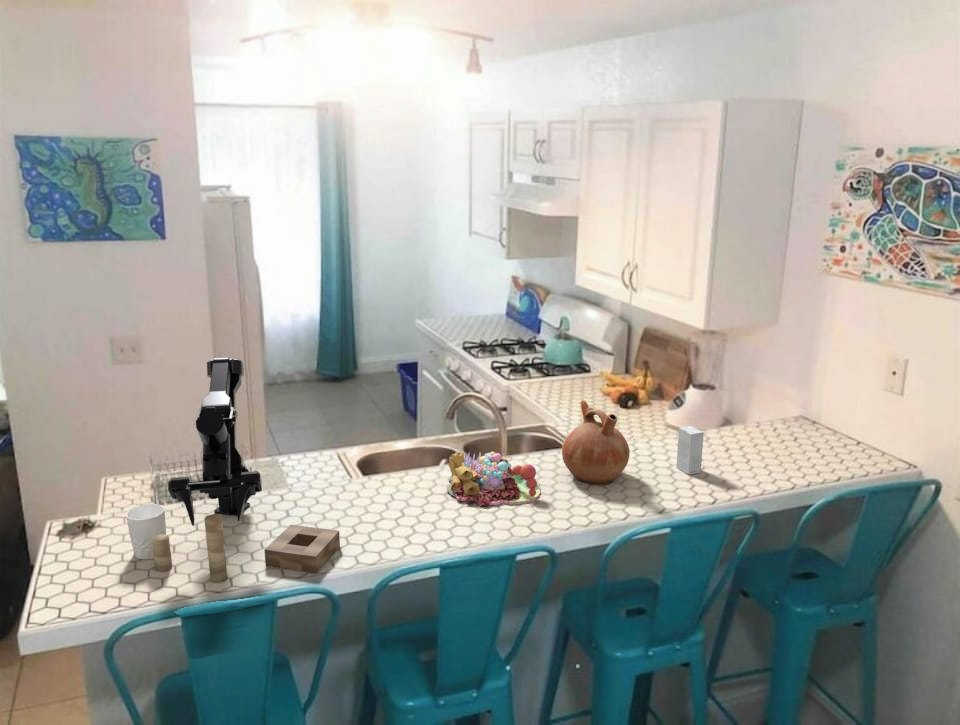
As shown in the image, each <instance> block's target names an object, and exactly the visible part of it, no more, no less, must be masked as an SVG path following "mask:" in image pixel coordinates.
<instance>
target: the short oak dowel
mask: <svg viewBox="0 0 960 725" xmlns="http://www.w3.org/2000/svg"><path fill="white" fill-rule="evenodd" d="M152 545H153V553H154V558H153V559H154V569H155V571H156V572H161V573H163V572H167V571H169V570H171V569H172V568H173V561H172V551H171V542H170V536H169V535H168V534H166V535H165V534H162V535H157V536H155V537H153V538H152Z"/></svg>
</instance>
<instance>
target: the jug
mask: <svg viewBox="0 0 960 725" xmlns="http://www.w3.org/2000/svg"><path fill="white" fill-rule="evenodd" d="M580 410H581V414H582V418H583V419H582V420H583V422H582V424H580V425H578V426H576V427H575V428H574V429H573V430H572V431H571V432H570V433H569V434H568V435H567V436H566V437H565V439H564V441H563V443H562V444H561V446H562V447H561V448H562V449H561V455H562V460H563V463H564V465H565V467H566V468H567V470H568V471H569V473H570V474H571V475H572V476H573V477H574V478H575V479H576V480H577V481H578V482H581V483H584V484H586V485H592V486H603V485H609V484H611V483H613V482H615V481H616V479H617V478H619V476H620V475H621V474H622V473H623V471H624V470H625V469H626V467H627V465H628V464H629V459H630V455H631V454H630V447H629V444H628V441H627V440H626V438H625V436H624V434H622V432H621V431H620V430H619V429H618V428H616V424H617V422H618V417H617V416H616V415H615V414H614V413H609V414H606V412H605V411H604V410H602V409H599V408H593V407H592V406H589V404H588V402H587V401H586V400H584V399H581V401H580ZM596 415H597V416H598V418H599V419H600V421H597V420H596V419H595V417H594V416H596Z"/></svg>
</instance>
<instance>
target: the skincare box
mask: <svg viewBox="0 0 960 725" xmlns="http://www.w3.org/2000/svg"><path fill="white" fill-rule="evenodd" d="M704 435H705V434H704V431H702V430H700V429H698V428H696V427H693V426H692V425H688V426H682V427H681V426H680V427H679V428H678V437H677V452H676V453H677V454H676V466H675V468H677V470H678V469H679V471H680V470H681V472H684V473H685V474H687V475H694V474H701V472H702V462H703V460H702V459H703V448H704Z"/></svg>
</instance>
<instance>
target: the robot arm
mask: <svg viewBox="0 0 960 725" xmlns="http://www.w3.org/2000/svg"><path fill="white" fill-rule="evenodd" d="M244 370H245V368H244V363H243V361H242V360H241V359H239V358H237V357H236V358H233V357H225V356H224V357H213V358H211V359H210V360H209V361H207V362H206V373H207V374H206V377H208V378H209V379H210V382H209V384H210V385H209V392H208V395H207V396H205V397H204V398H203V399H202V402H201V405H200V408H198V411H197V415H196V418H195V427H196V431H197V434H198V436H199V438H200V441H201V443H202V470H201V471H202V477H201V476H200V477H199V479H198V480H197V481H191V480H190V477H189V476H182V477H180V476H179V477H171V478H170V479H169V481H168V484H167V490H168V493H169V495H170V497H171V498H172V500H177V501H178V502H183V503H184V506H185V508H186V511H187V515H188V518H189V520H190V523H191V526H192V527H193V526H195V521H196V520H195V512H194V511H195V510H194V498H193V496H192V495H193V492H198V491H199V493H200V494H203V493H204V494H205V495H206V494H207V496H208V498H209V499H211V500H216V499H217V501H218V502H217V503H218V507H216V508H215V509H214V510H213V512H214V514H220V515H221V514H222V515H230V516H237V522H238V523H239V522H240V521H241V519H242V516H243V514H244V511H245V510H246V509H247V508H248V507H249V506H250V505H251V502H248V501H249V499H250V498H251V497H252V496H253V497H254V496H255V495H256V494H257V493H260V492H262V491H263V481H262V475H261V473H260V472H259V471H257V470H255V471H250V470H249V469H248V468H247V466H246V464H244V459H243V458H242V456H241V454H240V452H239V451H238V450H237V449H238V448H237V419H238V411H237V409H236V407H237V406H236V405H237V404H236V394H237V392H238V390H240V387H241V386H242V377H244V375H245V372H244Z"/></svg>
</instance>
